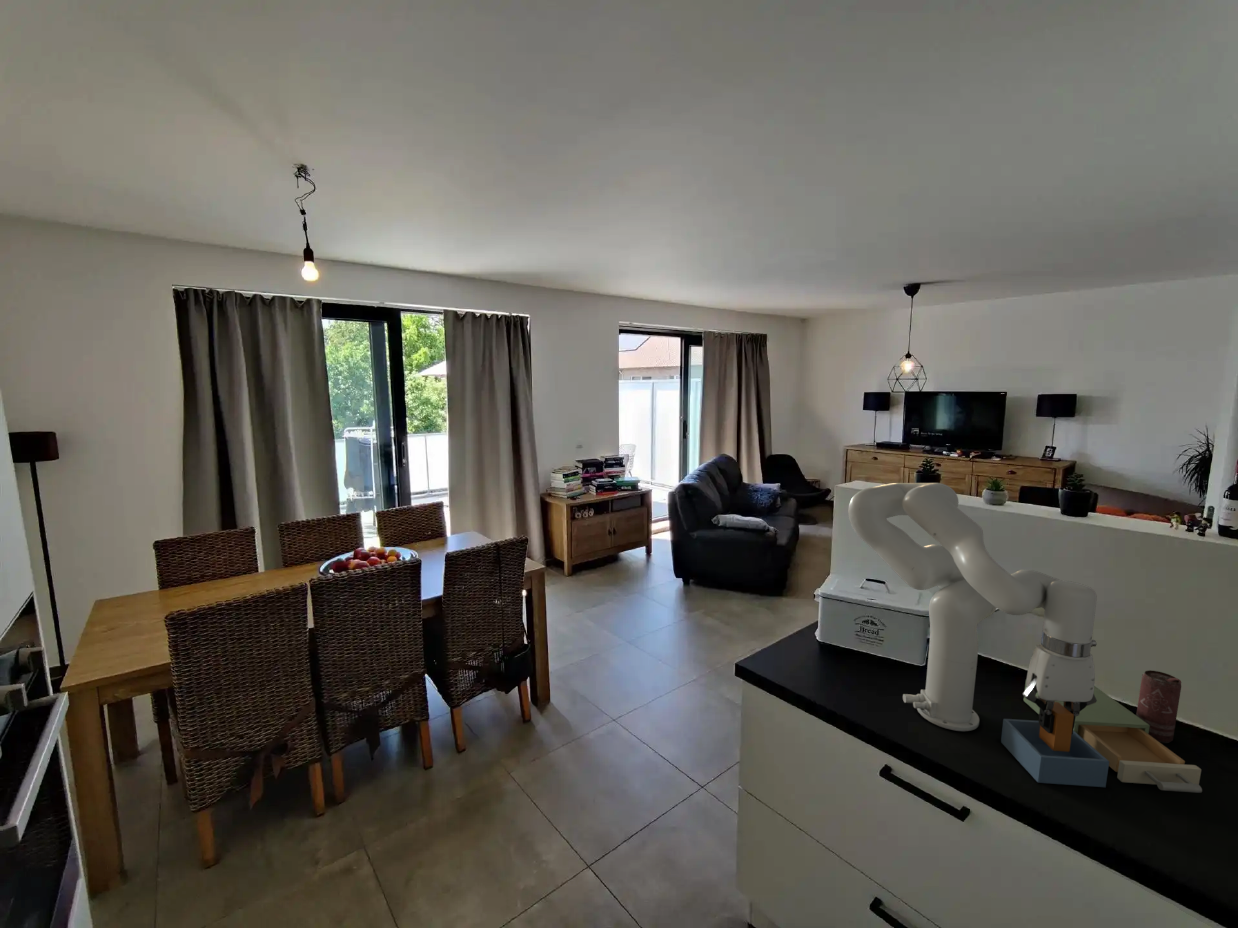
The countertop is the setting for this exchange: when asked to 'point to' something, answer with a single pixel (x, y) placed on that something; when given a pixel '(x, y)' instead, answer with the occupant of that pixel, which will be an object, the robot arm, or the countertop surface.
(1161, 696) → the can
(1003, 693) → the countertop surface
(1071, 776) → the bin
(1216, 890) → the countertop surface
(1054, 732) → the orange brown brick
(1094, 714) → the cabinet
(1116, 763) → the drawer
